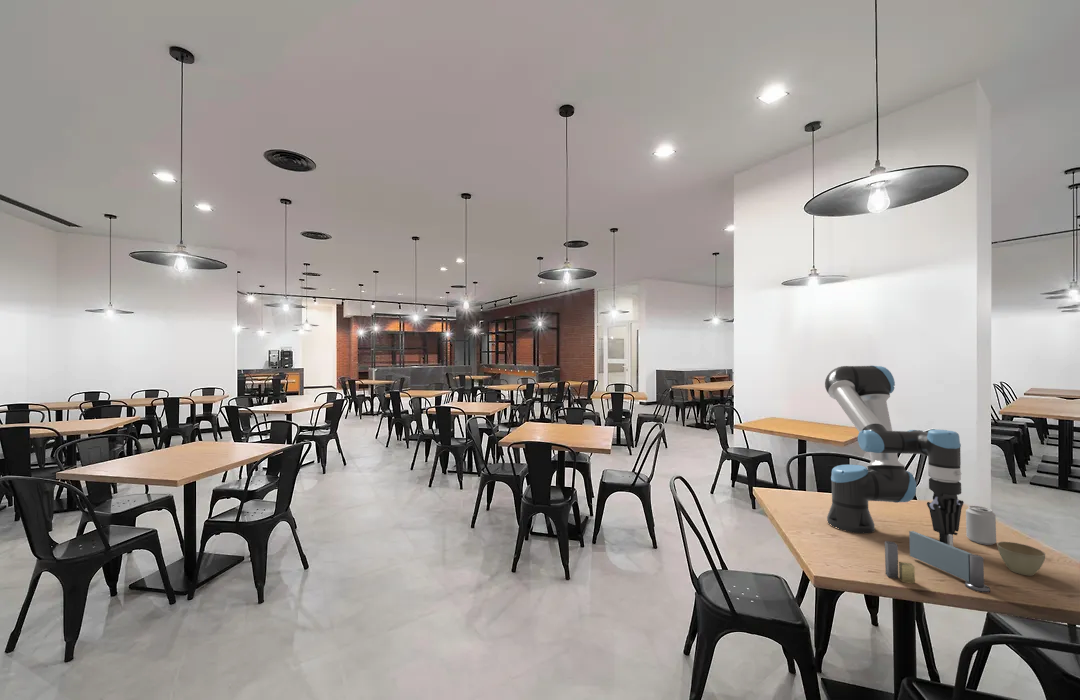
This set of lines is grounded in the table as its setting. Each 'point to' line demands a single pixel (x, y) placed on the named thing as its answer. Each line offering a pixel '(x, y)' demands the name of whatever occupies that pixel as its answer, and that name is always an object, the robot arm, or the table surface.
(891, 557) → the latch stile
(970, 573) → the gate
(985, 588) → the hinge flange
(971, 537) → the can
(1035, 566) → the olive beige bowl
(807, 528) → the table surface
